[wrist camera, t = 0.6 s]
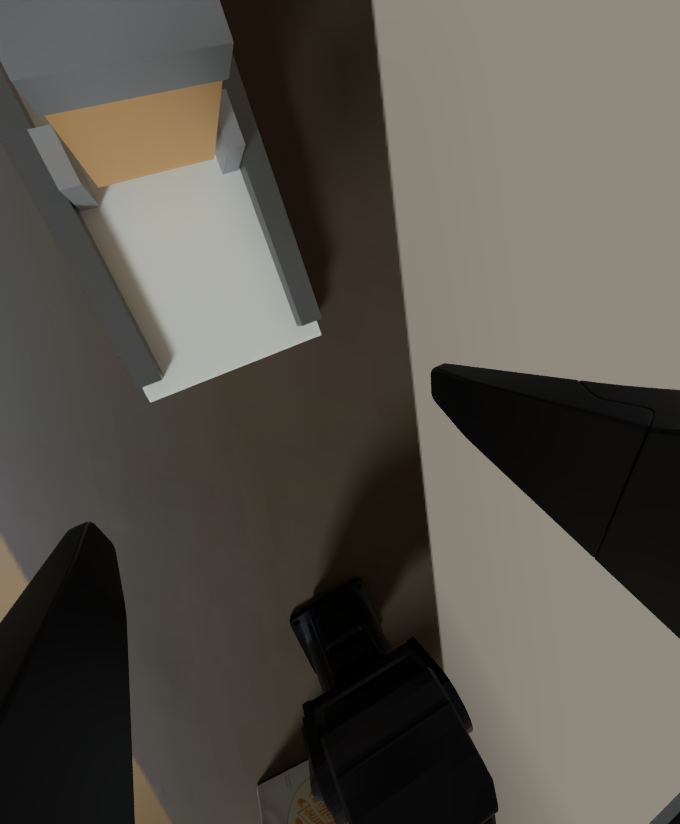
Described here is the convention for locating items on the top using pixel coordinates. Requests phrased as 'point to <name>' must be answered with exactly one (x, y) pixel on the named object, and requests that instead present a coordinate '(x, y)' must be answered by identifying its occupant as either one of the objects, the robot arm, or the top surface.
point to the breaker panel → (174, 248)
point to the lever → (121, 78)
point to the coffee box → (291, 799)
